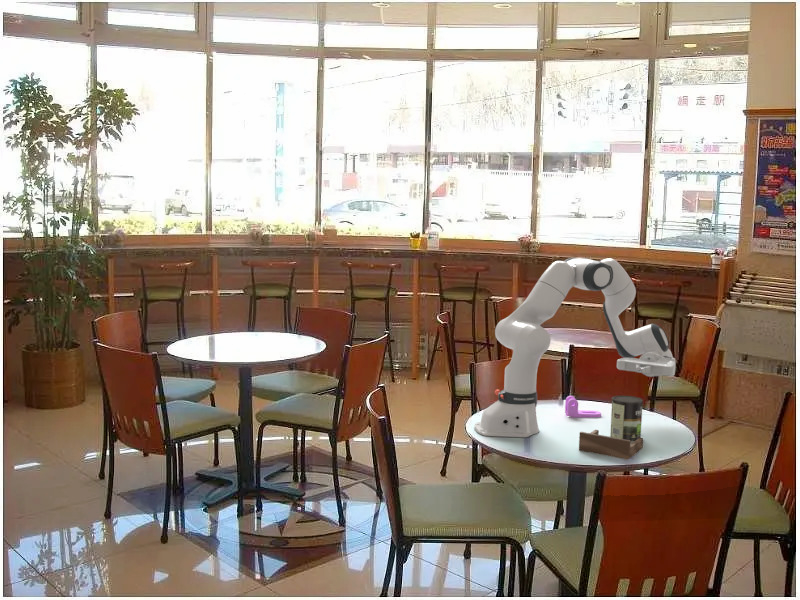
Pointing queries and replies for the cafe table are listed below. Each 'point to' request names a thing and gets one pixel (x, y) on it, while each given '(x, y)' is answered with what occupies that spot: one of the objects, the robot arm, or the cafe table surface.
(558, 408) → the cafe table surface
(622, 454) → the box
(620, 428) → the coffee can
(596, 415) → the bracket
